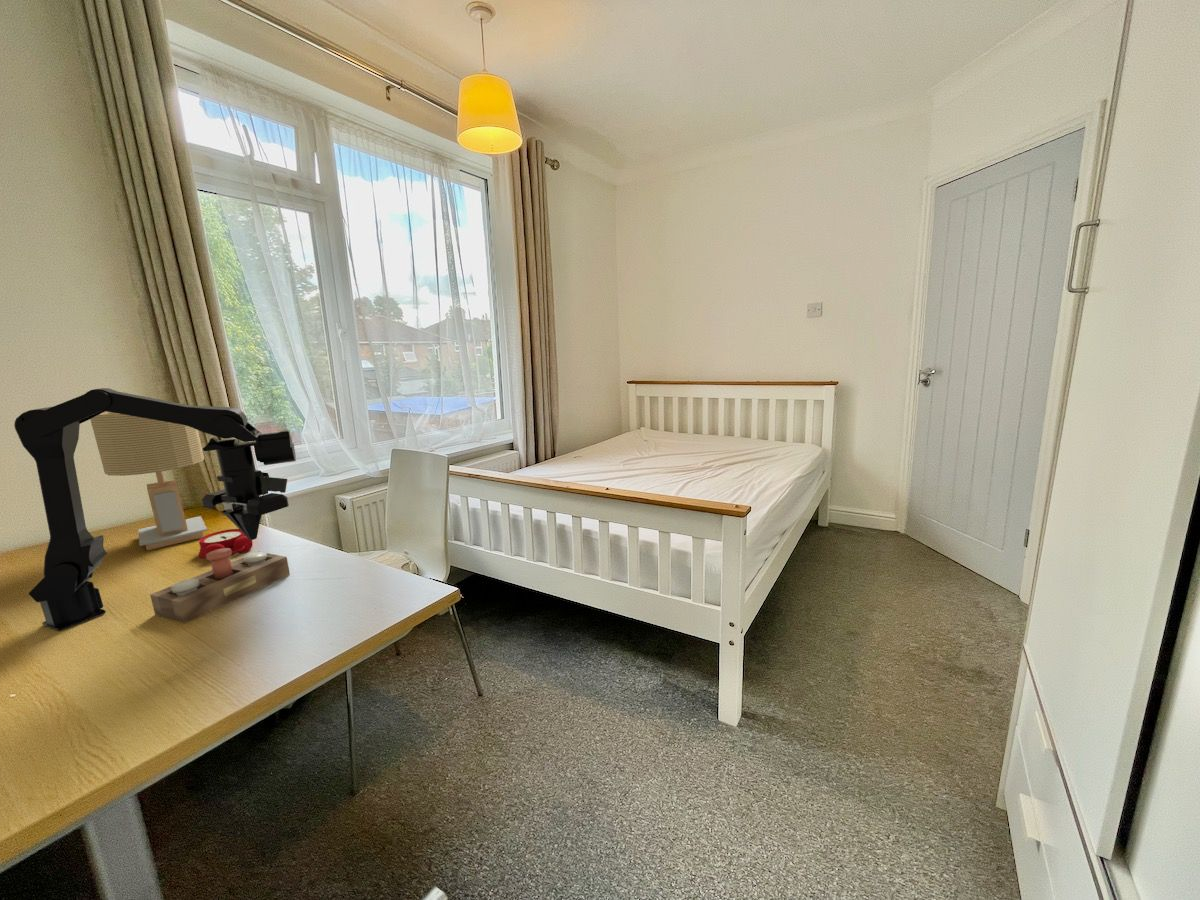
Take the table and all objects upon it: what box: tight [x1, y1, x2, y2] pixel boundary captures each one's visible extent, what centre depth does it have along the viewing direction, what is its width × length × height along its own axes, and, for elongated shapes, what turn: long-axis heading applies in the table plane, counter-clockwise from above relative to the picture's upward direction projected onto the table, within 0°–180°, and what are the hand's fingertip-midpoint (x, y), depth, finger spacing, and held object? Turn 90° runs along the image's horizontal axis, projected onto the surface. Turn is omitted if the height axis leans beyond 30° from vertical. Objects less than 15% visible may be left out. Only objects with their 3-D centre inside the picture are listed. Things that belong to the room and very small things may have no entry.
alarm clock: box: [198, 528, 253, 560], centre depth 118 cm, size 10×6×15 cm
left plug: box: [171, 578, 200, 597], centre depth 91 cm, size 4×4×5 cm
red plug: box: [205, 548, 233, 579], centre depth 96 cm, size 4×4×5 cm
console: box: [149, 552, 291, 624], centre depth 97 cm, size 20×9×4 cm, turn 158°
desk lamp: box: [89, 404, 208, 551], centre depth 126 cm, size 20×20×35 cm
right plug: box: [243, 551, 268, 566], centre depth 102 cm, size 4×4×5 cm
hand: (253, 539), depth 101 cm, fingers closed
